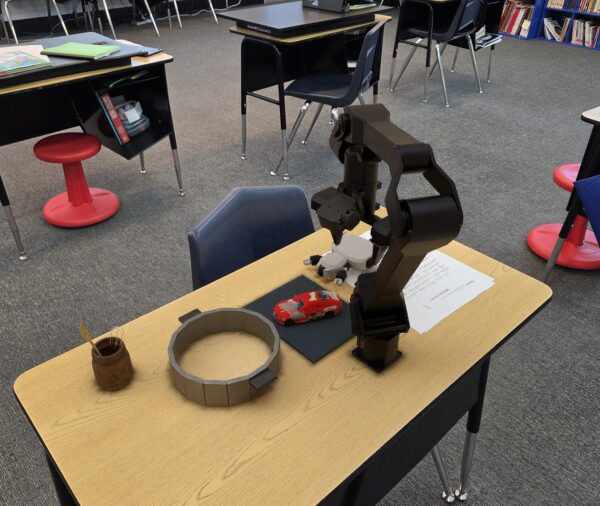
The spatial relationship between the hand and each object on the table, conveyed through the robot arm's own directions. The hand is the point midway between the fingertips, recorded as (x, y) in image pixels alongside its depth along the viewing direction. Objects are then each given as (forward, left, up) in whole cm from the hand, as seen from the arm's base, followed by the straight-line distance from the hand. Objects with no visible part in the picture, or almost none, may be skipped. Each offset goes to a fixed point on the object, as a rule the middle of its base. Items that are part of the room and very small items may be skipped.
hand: (355, 254), depth 100 cm
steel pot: (+4, +27, -12) cm, 30 cm away
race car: (+4, +9, -12) cm, 15 cm away
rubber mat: (+4, +8, -12) cm, 15 cm away
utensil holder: (+14, +43, -12) cm, 47 cm away
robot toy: (+10, -8, -12) cm, 18 cm away
